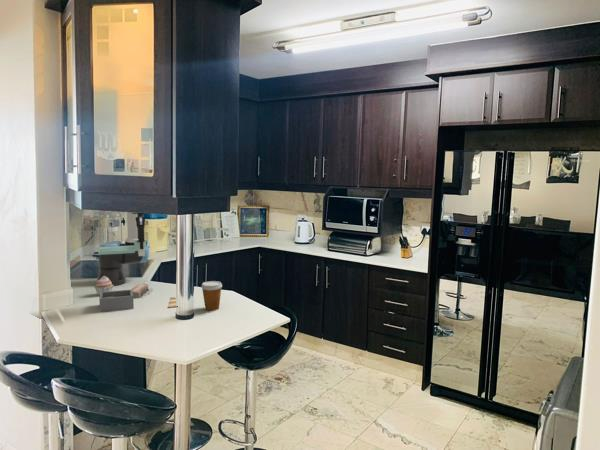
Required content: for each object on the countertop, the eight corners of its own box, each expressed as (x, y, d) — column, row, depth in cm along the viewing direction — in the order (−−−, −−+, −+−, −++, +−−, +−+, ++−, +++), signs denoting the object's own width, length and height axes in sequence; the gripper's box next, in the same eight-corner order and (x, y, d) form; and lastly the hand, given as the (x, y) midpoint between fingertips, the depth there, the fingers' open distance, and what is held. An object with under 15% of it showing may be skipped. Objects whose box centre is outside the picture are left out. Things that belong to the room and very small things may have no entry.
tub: (101, 306, 212) (100, 292, 211) (132, 303, 217) (132, 289, 216) (100, 314, 201) (99, 299, 200) (133, 310, 206) (133, 295, 205)
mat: (141, 301, 221) (141, 300, 221) (179, 297, 228) (179, 296, 228) (143, 310, 207) (143, 309, 207) (183, 306, 213) (183, 305, 213)
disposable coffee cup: (216, 312, 204) (215, 286, 203) (197, 310, 207) (197, 284, 206) (226, 306, 213) (225, 281, 212) (208, 304, 216) (207, 280, 215)
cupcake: (95, 298, 225) (94, 278, 224) (93, 294, 234) (92, 275, 232) (115, 296, 230) (114, 276, 229) (113, 291, 238) (112, 273, 237)
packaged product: (142, 291, 223) (122, 291, 222) (143, 301, 223) (122, 301, 223) (153, 282, 240) (134, 282, 240) (153, 291, 241) (134, 291, 241)
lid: (99, 249, 209) (99, 239, 209) (145, 247, 217) (144, 237, 216) (98, 254, 197) (97, 243, 197) (146, 252, 205) (146, 241, 204)
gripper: (130, 203, 214) (132, 252, 217) (131, 206, 199) (133, 258, 201) (147, 203, 217) (148, 251, 219) (149, 205, 201) (151, 257, 204)
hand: (141, 255), depth 210 cm, fingers closed on lid, 3 cm apart
